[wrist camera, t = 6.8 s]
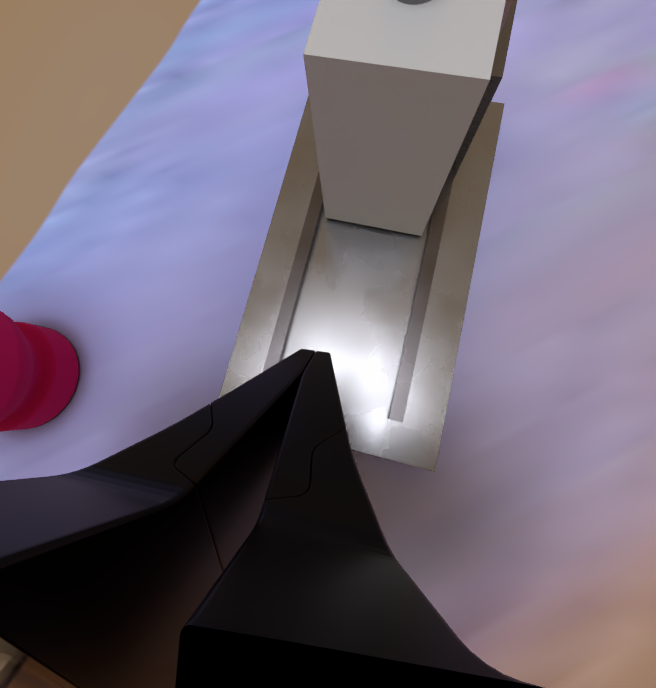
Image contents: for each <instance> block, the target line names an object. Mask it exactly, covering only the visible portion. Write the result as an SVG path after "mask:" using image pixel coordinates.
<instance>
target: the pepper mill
mask: <svg viewBox="0 0 656 688" xmlns="http://www.w3.org/2000/svg"><path fill="white" fill-rule="evenodd" d="M78 376H79V363H78V359H77V356H76V353H75V350H74V349H73V347H72V345H71V344H70V342H69V341H68V340H67V339H66V338H65V337H64V336H63V335H61V334H60V333H58V332H56V331H54V330H52V329H48V328H44V327H40V326H36V325H32V324H27V323H23V322H14V321H13V320H12V319H11V318H9V317H8V316H7V315H6V314H4V313H3V312H1V311H0V431H10V430H22V429H29V428H34V427H38V426H40V425H42V424H44V423H46V422H48V421H49V420H51V419H52V418H54V417H55V416H56V415H58V414H59V413H60V412H61V411H62V410H63V409H64V407H65V406H66V405H67V404H68V402H69V400H70V398H71V397H72V395H73V393H74V391H75V389H76V385H77V381H78Z"/></svg>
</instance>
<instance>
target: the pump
mask: <svg viewBox="0 0 656 688" xmlns="http://www.w3.org/2000/svg"><path fill="white" fill-rule="evenodd" d="M505 2H506V0H320V2H319V5H318V8H317V11H316V15H315V18H314V21H313V25H312V28H311V31H310V34H309V38H308V41H307V44H306V47H305V51H304V54H303V55H304V62H305V70H306V77H307V84H308V92H309V99H310V107H311V114H312V121H313V129H314V136H315V144H316V151H317V159H318V166H319V173H320V181H321V188H322V196H323V203H324V211H325V218H330V219H336V220H341V221H346V222H351V223H356V224H361V225H367V226H372V227H377V228H382V229H387V230H393V231H398V232H403V233H408V234H413V235H419V236H422V233H423V231H424V229H425V226H426V224H427V222H428V220H429V217H430V215H431V213H432V211H433V208H434V206H435V204H436V201H437V199H438V197H439V195H440V192H441V190H442V188H443V185H444V183H445V181H446V179H447V176H448V174H449V172H450V170H451V167H452V165H453V163H454V160H455V158H456V156H457V154H458V151H459V149H460V147H461V145H462V142H463V140H464V138H465V135H466V133H467V131H468V129H469V126H470V124H471V122H472V119H473V117H474V115H475V113H476V110H477V108H478V106H479V104H480V101H481V99H482V97H483V94H484V92H485V90H486V88H487V85H488V83H489V81H490V77H491V72H492V67H493V62H494V57H495V52H496V47H497V42H498V37H499V32H500V27H501V22H502V17H503V12H504V7H505Z"/></svg>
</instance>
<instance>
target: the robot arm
mask: <svg viewBox="0 0 656 688" xmlns="http://www.w3.org/2000/svg"><path fill="white" fill-rule="evenodd" d="M0 688H543V687H539V686H536V685H532V684H529V683H525V682H522V681H519V680H517V679H514V678H512V677H509V676H507V675H504V674H502V673H501V672H499V671H497V670H496V669H494V668H492V667H491V666H489V665H488V664H486V663H485V662H483V661H482V660H481V659H480V658H479V657H477V656H476V655H475V654H474V653H472V652H471V651H470V650H469V649H468V648H467V647H466V646H465V644H464V643H463V642H462V641H461V640H460V639H459V638H458V637H457V636H456V634H455V633H454V632H453V630H452V629H451V628H450V627H449V625H448V624H447V623H446V622H445V620H444V619H443V618H442V617H441V615H440V614H439V613H438V612H437V610H436V609H435V608H434V607H433V605H432V604H431V603H430V602H429V600H428V599H427V598H426V596H425V595H424V594H423V593H422V591H421V590H420V589H419V588H418V586H417V585H416V584H415V583H414V581H413V580H412V579H411V578H410V576H409V575H408V574H407V573H406V571H405V570H404V569H403V568H402V566H401V565H400V564H399V562H398V561H397V560H396V558H395V557H394V555H393V553H392V551H391V549H390V548H389V546H388V544H387V541H386V539H385V537H384V535H383V533H382V530H381V528H380V526H379V523H378V520H377V518H376V515H375V513H374V510H373V508H372V505H371V503H370V500H369V498H368V495H367V493H366V490H365V488H364V485H363V482H362V480H361V477H360V475H359V472H358V469H357V466H356V463H355V460H354V457H353V453H352V449H351V446H350V442H349V437H348V433H347V429H346V424H345V419H344V415H343V410H342V405H341V401H340V396H339V392H338V387H337V382H336V378H335V373H334V368H333V364H332V359H331V355H330V353H328V352H322V351H316V352H315V351H314V350H309V349H300V350H298V351H297V352H295V353H293V354H292V355H290V356H288V357H287V358H285V359H283V360H282V361H280V362H278V363H277V364H275V365H273V366H272V367H270V368H268V369H267V370H265V371H263V372H262V373H260V374H258V375H257V376H255V377H253V378H252V379H250V380H248V381H247V382H245V383H243V384H242V385H240V386H238V387H237V388H235V389H233V390H232V391H230V392H228V393H227V394H225V395H223V396H222V397H220V398H218V399H217V400H215V401H213V402H212V403H211V405H210V404H208V405H207V406H205V407H203V408H202V409H200V410H198V411H197V412H195V413H193V414H191V415H190V416H188V417H186V418H184V419H183V420H181V421H179V422H177V423H175V424H174V425H172V426H170V427H168V428H166V429H164V430H162V431H160V432H158V433H156V434H154V435H152V436H150V437H148V438H146V439H144V440H142V441H140V442H138V443H136V444H134V445H132V446H130V447H128V448H126V449H124V450H122V451H120V452H118V453H116V454H114V455H112V456H110V457H108V458H106V459H104V460H102V461H100V462H98V463H96V464H93V465H91V466H89V467H86V468H84V469H81V470H78V471H74V472H71V473H67V474H62V475H57V476H49V477H39V478H28V479H17V480H6V481H0Z"/></svg>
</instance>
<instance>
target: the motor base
mask: <svg viewBox="0 0 656 688" xmlns="http://www.w3.org/2000/svg"><path fill="white" fill-rule="evenodd" d="M516 4H517V0H506V2H505V7H504V12H503V17H502V22H501V27H500V32H499V37H498V42H497V47H496V52H495V57H494V62H493V67H492V72H491V77H490V81H489V83H488V85H487V88H486V90H485V92H484V94H483V97H482V99H481V101H480V104H479V106H478V108H477V110H476V113H475V115H474V117H473V119H472V122H471V124H470V126H469V129H468V131H467V133H466V135H465V138H464V140H463V142H462V145H461V147H460V149H459V151H458V154H457V156H456V158H455V160H454V163H453V165H452V167H451V170H450V172H449V174H448V176H447V179H446V181H445V183H444V185H443V188H442V190H441V192H440V195H439V197H438V199H437V201H436V204H435V206H434V208H433V211H432V213H431V215H430V217H429V220H428V222H427V224H426V226H425V229H424V231H423V233H422V236H419V235H413V234H408V233H403V232H398V231H393V230H387V229H382V228H377V227H372V226H367V225H361V224H356V223H351V222H346V221H341V220H336V219H330V218H325V211H324V203H323V196H322V188H321V181H320V173H319V166H318V159H317V151H316V144H315V136H314V129H313V121H312V114H311V107H310V99H309V96H308V99H307V103H306V106H305V109H304V113H303V116H302V119H301V123H300V126H299V130H298V133H297V136H296V140H295V143H294V146H293V150H292V153H291V157H290V160H289V163H288V167H287V170H286V173H285V177H284V180H283V183H282V187H281V190H280V194H279V197H278V200H277V204H276V207H275V210H274V214H273V217H272V221H271V224H270V227H269V231H268V234H267V237H266V241H265V244H264V248H263V251H262V254H261V258H260V261H259V264H258V268H257V271H256V274H255V278H254V281H253V285H252V288H251V291H250V295H249V298H248V301H247V305H246V308H245V312H244V315H243V318H242V322H241V325H240V328H239V332H238V335H237V339H236V342H235V345H234V349H233V352H232V355H231V359H230V362H229V365H228V369H227V372H226V376H225V379H224V382H223V386H222V389H221V392H220V396H219V398H220V397H222V396H223V395H225V394H227V393H228V392H230V391H232V390H233V389H235V388H237V387H238V386H240V385H242V384H243V383H245V382H247V381H248V380H250V379H252V378H253V377H255V376H257V375H258V374H260V373H262V372H263V371H265V370H267V369H268V368H270V367H272V366H273V365H275V364H277V363H278V362H280V361H282V360H283V359H285V358H287V357H288V356H290V355H292V354H293V353H295V352H297V351H298V350H300V349H309V350H314V351H315V352H316V351H322V352H328V353H330V355H331V359H332V364H333V368H334V373H335V378H336V382H337V387H338V392H339V396H340V401H341V405H342V410H343V415H344V419H345V424H346V429H347V433H348V437H349V442H350V446H351V449H352V450H356V451H360V452H363V453H367V454H371V455H375V456H378V457H382V458H386V459H389V460H393V461H397V462H401V463H404V464H408V465H412V466H415V467H419V468H423V469H427V470H430V471H434V472H435V468H436V463H437V458H438V452H439V447H440V442H441V437H442V431H443V426H444V421H445V415H446V410H447V405H448V399H449V394H450V389H451V384H452V378H453V373H454V368H455V362H456V357H457V352H458V347H459V341H460V336H461V331H462V325H463V320H464V315H465V310H466V304H467V299H468V294H469V288H470V283H471V278H472V272H473V267H474V262H475V257H476V251H477V246H478V241H479V235H480V230H481V225H482V220H483V214H484V209H485V204H486V198H487V193H488V188H489V182H490V177H491V172H492V167H493V161H494V156H495V151H496V145H497V140H498V135H499V130H500V124H501V119H502V114H503V108H504V104H503V103H497V102H491V100H492V98H493V96H494V94H495V92H496V89H497V87H498V85H499V83H500V81H501V79H502V76H503V71H504V66H505V61H506V56H507V50H508V45H509V40H510V35H511V30H512V25H513V19H514V14H515V9H516Z"/></svg>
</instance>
